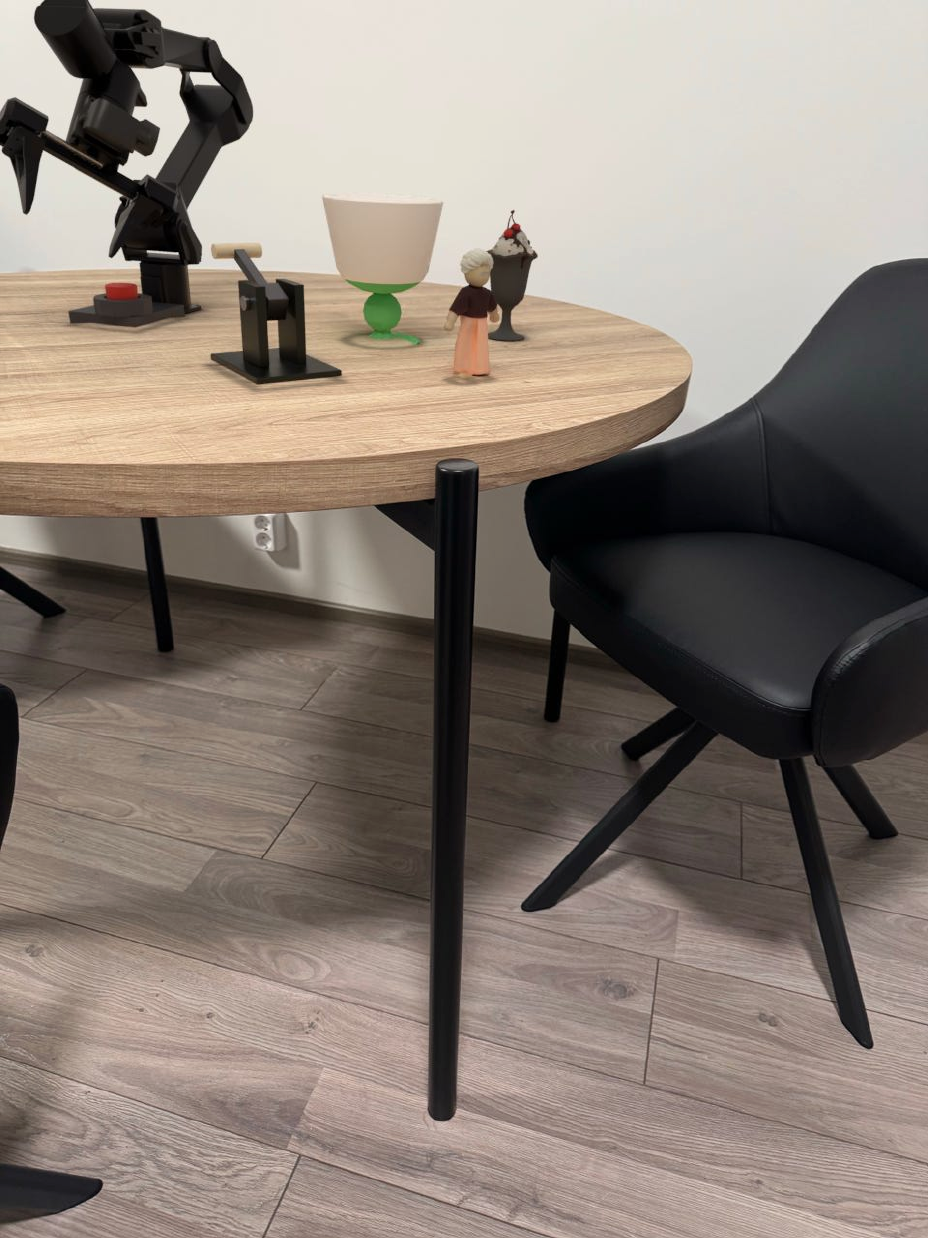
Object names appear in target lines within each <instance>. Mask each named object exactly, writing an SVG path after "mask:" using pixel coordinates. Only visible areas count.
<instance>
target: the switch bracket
mask: <svg viewBox="0 0 928 1238" xmlns="http://www.w3.org/2000/svg"><path fill="white" fill-rule="evenodd" d="M275 283H278V284H279V285H280V287H281V288H282V289H283V291H284V292H285V294H286V295H287V297H288V298H289V302H288V309H287V315H286V320H277V336H278V347H273V348H269V331H268V321H267V310H266V291H265V286H262V285H259V284H256V283H254V282H251V281H249V280H248V279H239V280H238V281H237V287H238V302H239V319H240V332H241V345H242V346H241V348H242V350H237V351H236V350H235V351H225V352H223V351H222V352H213V353H210V360H211V361H212V362H215V363H216V364H219V365H221V366H222V367H224V368H226V369H228V370H230V371H231V372H234V373H235V374H237V375H239V376H241V377H242V378H244V379H246V380H248V381H249V382H251V383H253V384H255V385H258V386H259V385H269V384H277V383H288V382H299V381H305V380H317V379H318V380H319V379H327V378H328V379H329V378H335V377H342V375H343V373H342V371H343V370H342V369H340V368H338V367H335V366H333V365H331V364H329V363H327V362H324V361H322V360H319V359H318V358H315V357H313V356H311V355H309V354H307V340H306V338H307V337H306V310H305V309H306V307H305V285H304V284H303V283H300V282H297V281H294V280H290V279H287V278H275Z"/></svg>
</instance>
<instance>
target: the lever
mask: <svg viewBox="0 0 928 1238" xmlns="http://www.w3.org/2000/svg"><path fill="white" fill-rule="evenodd" d="M210 253H211V257H212V258H213V259H214V260H223V259H224V260H226V259H233V260H234V262H235V263H236V265H237V266H238V267H239V268H240V270H241V271H242V273H243V275H244V276H245V277H246V280H248V281H251V282H254V283H256V284H259V285H262V286H265V291H266V310H267V322H271V321H278V320H286V315H287V309H288V302H289V298H288V297H287V295H286V294H285V292H284V291H283V289H282V288H281V287H280V285H279V284H278V283H276V282H267V280H266V278H264V276H263V274H262V273H261V271H260V270H259V268H258V267H257V266H256V264H255V262H254V261H253V260H252V259H260V258H262V255H263V248H262V245H261V244H260V242H238V243H237V242H235V243H234V242H232V243H229V242H228V243H227V242H226V243H212V244H211V246H210Z"/></svg>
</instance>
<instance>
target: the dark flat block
mask: <svg viewBox="0 0 928 1238" xmlns="http://www.w3.org/2000/svg"><path fill="white" fill-rule="evenodd" d="M92 301H93V304H92V305H89V306H85V307H79V308H76V309H71V310H68V311H67V312H68V318H69V319H68V320H69V324H71V325H73V324H86V323H87V324H89V323H91V324H100V325H101V324H102V325H109V326H119V327H127V328H128V327H129V328H139V327H142V326H146V325H149V324H153V323H155V322H160V321H163V320H167V319H173V318H185V314H186V313H185V314H184V305H181V304H171V303H158V302H152V299H151V296H149V295H146V294H142V293H140V292H138V298H137V299H129V300H115V299H107V297H106V292H105V293H100V294H95V295H94V296H93V297H92Z"/></svg>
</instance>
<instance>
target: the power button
mask: <svg viewBox="0 0 928 1238" xmlns="http://www.w3.org/2000/svg"><path fill="white" fill-rule="evenodd" d="M104 289H105V293H106V297H107V299H115V300H129V299H137V298H138V293H139V291H138V285H137V284H136V283H131V282H110V283H106V284H105V285H104Z"/></svg>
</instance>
